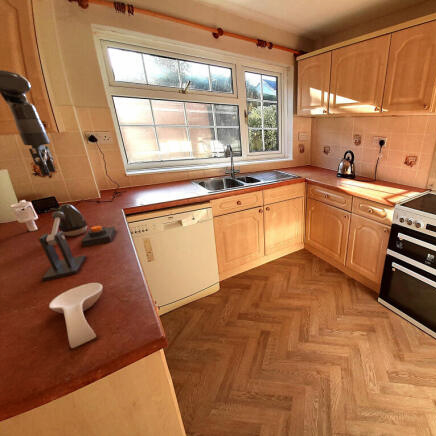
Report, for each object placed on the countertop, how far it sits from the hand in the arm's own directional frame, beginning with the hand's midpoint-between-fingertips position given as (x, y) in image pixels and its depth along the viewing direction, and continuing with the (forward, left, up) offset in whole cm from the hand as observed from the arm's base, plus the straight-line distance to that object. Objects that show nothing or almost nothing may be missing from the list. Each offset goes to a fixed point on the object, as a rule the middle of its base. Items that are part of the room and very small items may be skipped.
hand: (49, 173), depth 101 cm
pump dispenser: (-4, +5, -31) cm, 31 cm away
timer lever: (+14, -19, -17) cm, 30 cm away
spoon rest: (+43, -49, -31) cm, 72 cm away
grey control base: (+12, -1, -30) cm, 33 cm away
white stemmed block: (-32, +12, -31) cm, 46 cm away
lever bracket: (+17, -25, -30) cm, 43 cm away
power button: (+12, -1, -26) cm, 29 cm away
